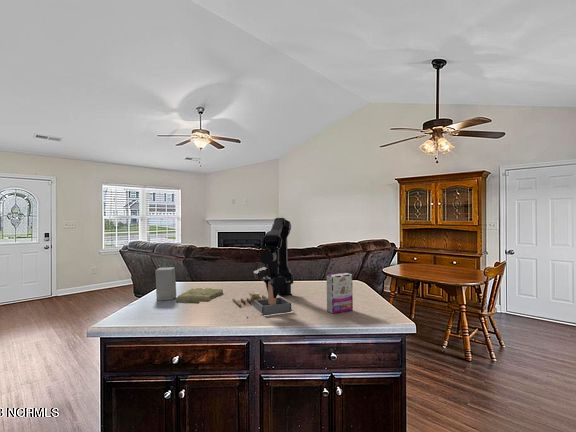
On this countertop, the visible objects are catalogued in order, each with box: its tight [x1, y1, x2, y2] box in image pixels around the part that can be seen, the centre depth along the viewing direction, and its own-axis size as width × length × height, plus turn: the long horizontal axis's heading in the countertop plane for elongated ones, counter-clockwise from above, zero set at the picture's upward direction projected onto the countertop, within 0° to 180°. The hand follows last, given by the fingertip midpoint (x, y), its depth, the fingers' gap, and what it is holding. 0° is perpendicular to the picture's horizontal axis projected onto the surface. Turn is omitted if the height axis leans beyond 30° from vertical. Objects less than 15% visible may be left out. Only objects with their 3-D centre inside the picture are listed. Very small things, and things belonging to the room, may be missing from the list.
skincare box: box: [155, 266, 177, 301], centre depth 165 cm, size 8×7×16 cm
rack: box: [232, 295, 268, 308], centre depth 156 cm, size 16×12×2 cm
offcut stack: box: [248, 291, 262, 304], centre depth 156 cm, size 4×5×4 cm
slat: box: [267, 281, 277, 305], centre depth 145 cm, size 1×6×10 cm, turn 24°
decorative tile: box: [175, 287, 224, 303], centre depth 168 cm, size 19×20×4 cm
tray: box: [253, 296, 292, 316], centre depth 145 cm, size 14×12×4 cm
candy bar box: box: [326, 272, 354, 315], centre depth 144 cm, size 11×5×16 cm, turn 117°
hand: (272, 296), depth 146 cm, fingers closed on slat, 6 cm apart
